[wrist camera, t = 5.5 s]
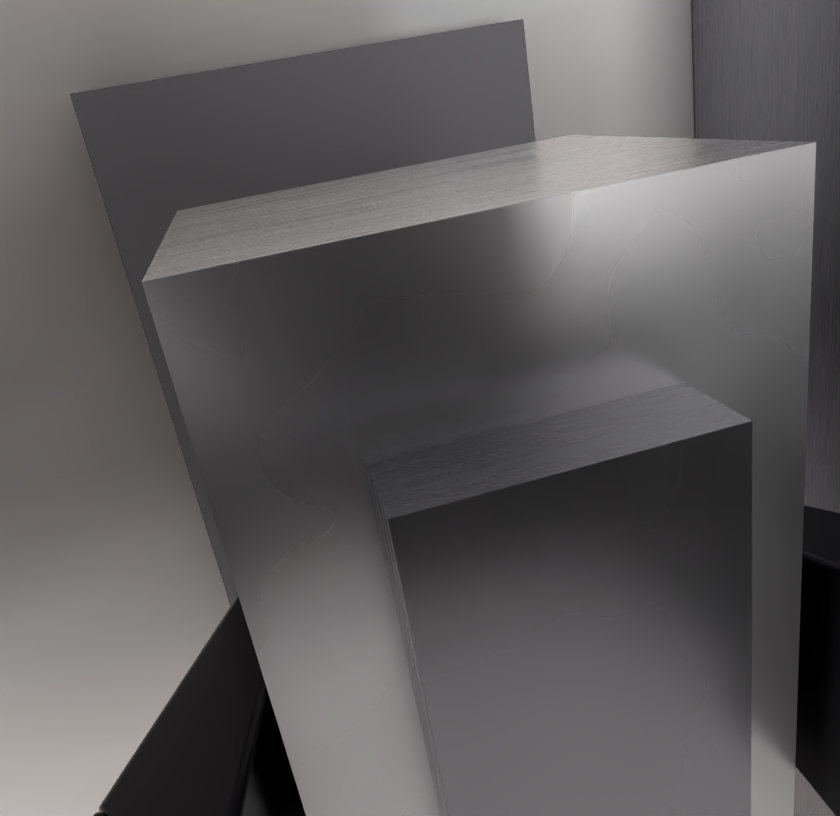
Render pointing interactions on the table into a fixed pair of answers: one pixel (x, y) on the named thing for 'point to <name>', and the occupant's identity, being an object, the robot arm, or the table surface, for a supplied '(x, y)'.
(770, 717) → the grey rectangular block
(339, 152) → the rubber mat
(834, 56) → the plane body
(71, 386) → the table surface
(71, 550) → the table surface
